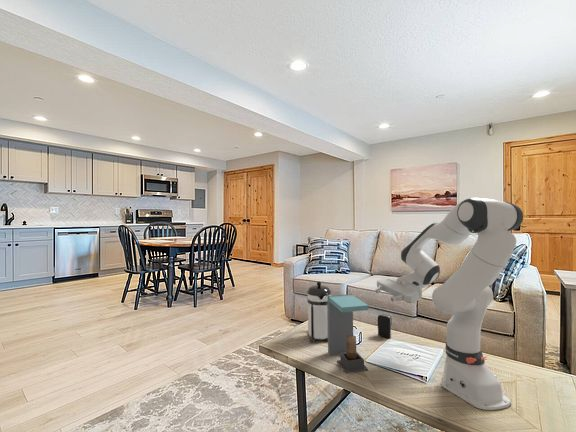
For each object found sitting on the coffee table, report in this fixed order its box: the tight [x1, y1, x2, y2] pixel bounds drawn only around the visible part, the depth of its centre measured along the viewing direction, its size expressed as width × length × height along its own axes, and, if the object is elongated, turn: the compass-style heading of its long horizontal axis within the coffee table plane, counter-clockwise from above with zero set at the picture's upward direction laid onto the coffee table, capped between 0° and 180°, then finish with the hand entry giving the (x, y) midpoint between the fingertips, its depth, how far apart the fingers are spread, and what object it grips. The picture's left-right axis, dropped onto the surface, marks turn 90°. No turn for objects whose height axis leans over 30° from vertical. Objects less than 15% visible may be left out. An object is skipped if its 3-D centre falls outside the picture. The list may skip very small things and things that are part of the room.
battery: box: [377, 313, 393, 339], centre depth 158 cm, size 7×4×11 cm, turn 54°
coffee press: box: [306, 281, 332, 343], centre depth 158 cm, size 17×16×30 cm
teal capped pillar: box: [327, 293, 370, 355], centre depth 132 cm, size 18×12×27 cm, turn 12°
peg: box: [346, 334, 358, 361], centre depth 127 cm, size 4×4×12 cm
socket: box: [336, 351, 369, 374], centre depth 127 cm, size 10×10×4 cm
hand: (384, 295), depth 131 cm, fingers open, 8 cm apart
